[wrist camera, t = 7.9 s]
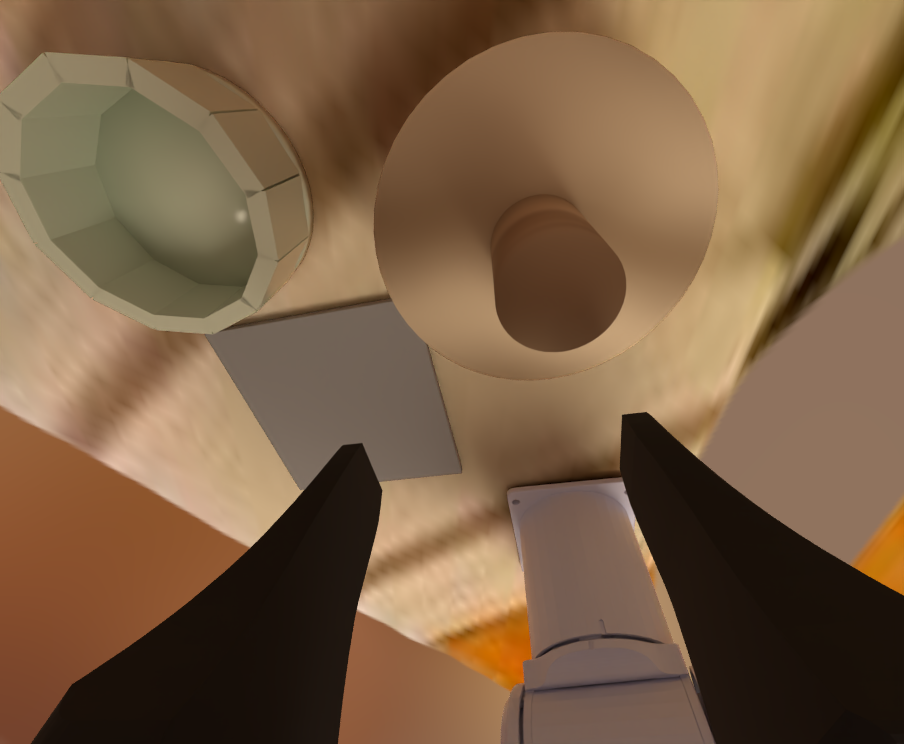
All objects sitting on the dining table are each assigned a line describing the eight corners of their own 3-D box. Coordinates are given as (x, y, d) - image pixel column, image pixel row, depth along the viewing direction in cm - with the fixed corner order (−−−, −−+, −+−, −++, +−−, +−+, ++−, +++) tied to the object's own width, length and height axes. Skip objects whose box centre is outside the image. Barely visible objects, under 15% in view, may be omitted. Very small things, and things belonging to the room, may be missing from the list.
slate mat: (462, 468, 26) (461, 473, 26) (302, 485, 28) (300, 490, 27) (413, 294, 19) (412, 297, 19) (208, 330, 21) (204, 334, 21)
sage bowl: (354, 243, 18) (327, 276, 15) (209, 321, 21) (158, 364, 18) (204, 3, 14) (118, -25, 11) (44, 140, 16) (-64, 151, 13)
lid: (661, 362, 16) (724, 454, 12) (401, 369, 17) (377, 457, 13) (752, 18, 10) (933, -32, 6) (351, 53, 11) (278, 29, 7)
